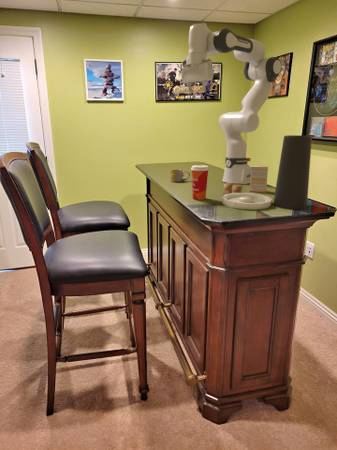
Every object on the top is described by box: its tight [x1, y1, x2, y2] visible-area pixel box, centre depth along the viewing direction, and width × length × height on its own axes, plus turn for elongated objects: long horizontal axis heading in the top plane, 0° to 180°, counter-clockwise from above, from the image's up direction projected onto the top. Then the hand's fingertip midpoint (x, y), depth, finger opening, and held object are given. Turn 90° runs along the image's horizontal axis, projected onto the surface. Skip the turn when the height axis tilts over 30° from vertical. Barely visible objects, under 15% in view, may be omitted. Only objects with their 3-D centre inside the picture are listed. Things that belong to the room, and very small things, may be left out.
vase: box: [272, 134, 313, 210], centre depth 140 cm, size 14×14×29 cm
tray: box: [220, 192, 273, 211], centre depth 147 cm, size 21×21×2 cm
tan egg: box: [222, 182, 233, 195], centre depth 165 cm, size 4×4×5 cm
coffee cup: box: [190, 164, 210, 201], centre depth 154 cm, size 8×8×15 cm
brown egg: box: [232, 184, 242, 193], centre depth 160 cm, size 4×4×5 cm
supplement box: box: [249, 165, 269, 194], centre depth 170 cm, size 8×5×13 cm, turn 71°
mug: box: [169, 169, 191, 183], centre depth 198 cm, size 12×7×7 cm, turn 98°
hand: (196, 91), depth 166 cm, fingers open, 8 cm apart
